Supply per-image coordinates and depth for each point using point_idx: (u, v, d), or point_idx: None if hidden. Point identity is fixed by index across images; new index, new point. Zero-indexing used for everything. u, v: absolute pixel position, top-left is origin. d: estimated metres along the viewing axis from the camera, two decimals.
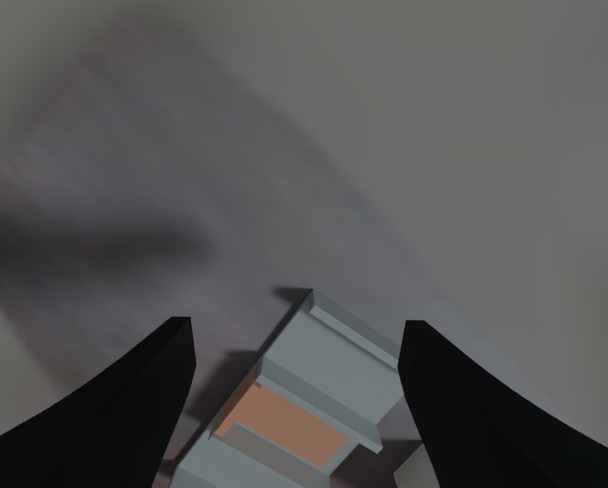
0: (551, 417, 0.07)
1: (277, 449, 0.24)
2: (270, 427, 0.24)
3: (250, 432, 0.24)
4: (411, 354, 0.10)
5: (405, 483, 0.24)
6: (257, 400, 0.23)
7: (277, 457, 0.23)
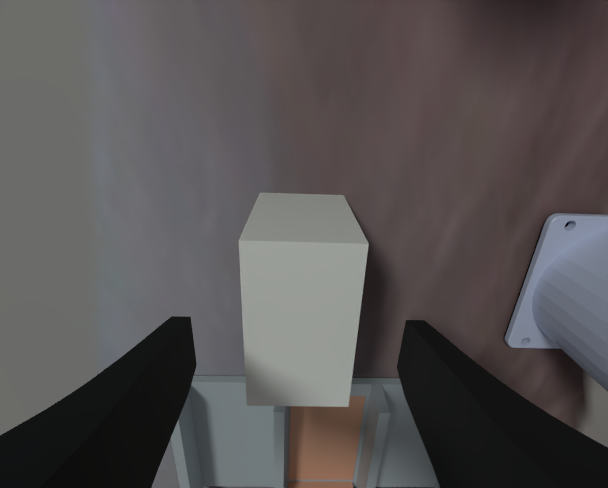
0: (551, 417, 0.07)
1: (363, 442, 0.21)
2: (343, 454, 0.22)
3: (359, 463, 0.22)
4: (411, 354, 0.10)
5: None
6: (321, 472, 0.23)
7: (365, 451, 0.21)
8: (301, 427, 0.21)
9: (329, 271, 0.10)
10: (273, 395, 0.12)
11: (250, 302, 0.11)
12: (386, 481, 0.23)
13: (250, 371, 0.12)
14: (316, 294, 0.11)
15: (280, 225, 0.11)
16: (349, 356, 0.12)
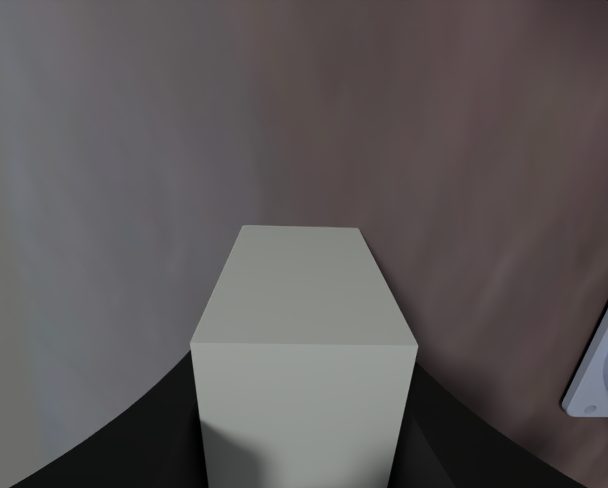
0: (476, 416, 0.06)
1: None
2: None
3: None
4: None
5: None
6: None
7: None
8: None
9: (349, 387, 0.06)
10: None
11: (216, 431, 0.06)
12: None
13: None
14: (325, 419, 0.06)
15: (266, 299, 0.07)
16: None
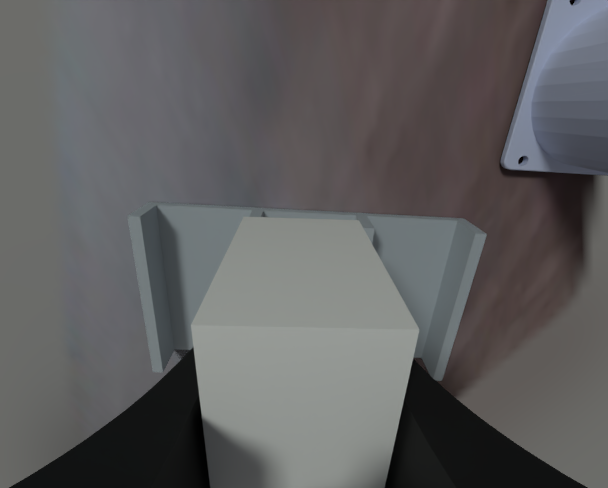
0: (477, 416, 0.06)
1: None
2: None
3: None
4: None
5: None
6: None
7: None
8: None
9: (349, 372, 0.06)
10: None
11: (216, 417, 0.06)
12: None
13: None
14: (326, 405, 0.06)
15: (266, 285, 0.07)
16: (376, 486, 0.07)
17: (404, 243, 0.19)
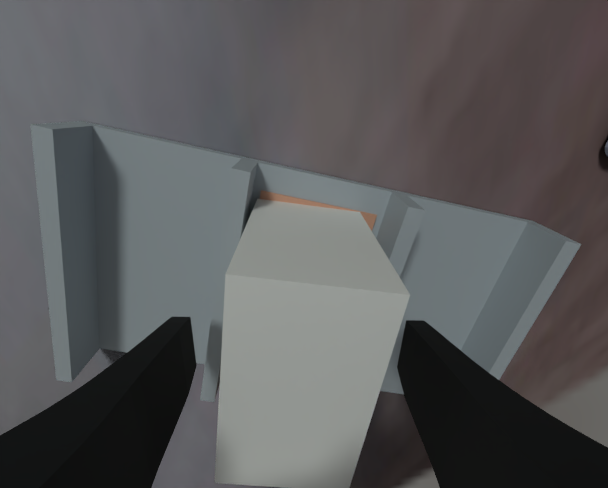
0: (551, 417, 0.07)
1: None
2: None
3: None
4: (411, 354, 0.10)
5: None
6: None
7: None
8: None
9: (350, 327, 0.07)
10: (251, 473, 0.09)
11: (233, 358, 0.08)
12: None
13: (224, 443, 0.09)
14: (326, 355, 0.08)
15: (284, 252, 0.08)
16: (359, 433, 0.09)
17: (448, 242, 0.13)
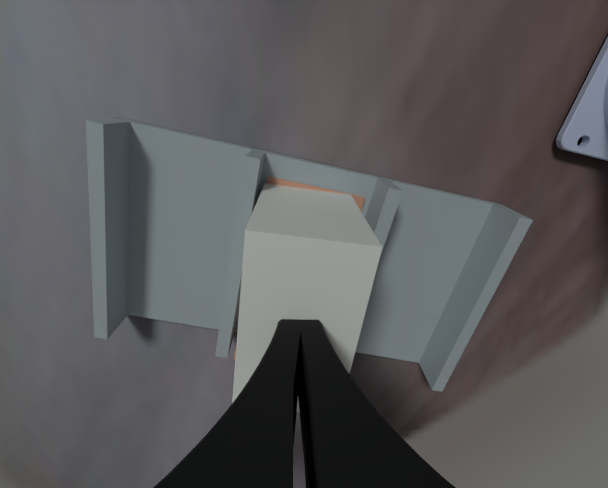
0: None
1: None
2: None
3: None
4: (299, 353, 0.10)
5: None
6: None
7: None
8: None
9: (337, 272, 0.10)
10: None
11: (249, 297, 0.10)
12: (364, 344, 0.18)
13: (240, 370, 0.11)
14: (320, 296, 0.10)
15: (288, 219, 0.10)
16: (346, 363, 0.11)
17: (426, 221, 0.16)
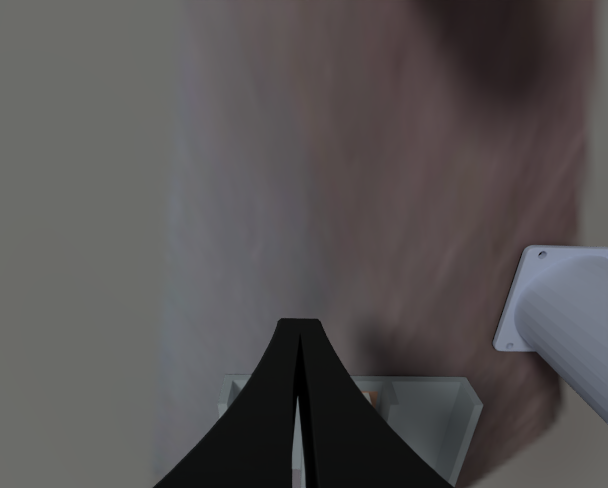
0: (380, 416, 0.06)
1: None
2: None
3: None
4: (299, 353, 0.10)
5: None
6: None
7: None
8: None
9: None
10: None
11: None
12: None
13: None
14: None
15: None
16: None
17: (420, 396, 0.24)
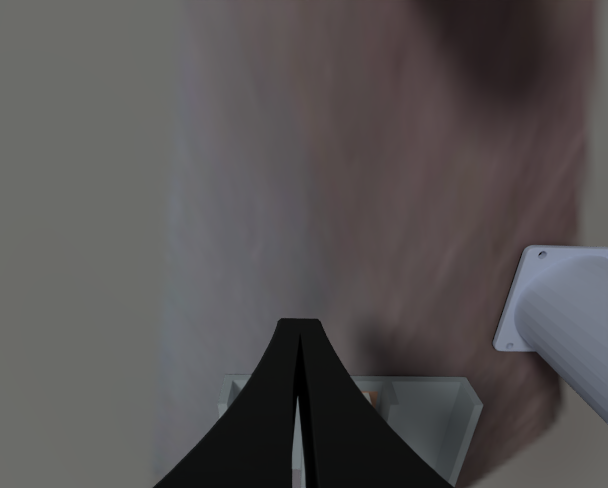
0: (380, 416, 0.06)
1: None
2: None
3: None
4: (299, 353, 0.10)
5: None
6: None
7: None
8: None
9: None
10: None
11: None
12: None
13: None
14: None
15: None
16: None
17: (420, 397, 0.24)
